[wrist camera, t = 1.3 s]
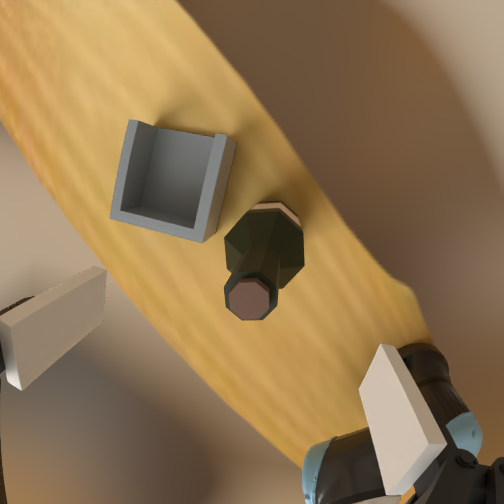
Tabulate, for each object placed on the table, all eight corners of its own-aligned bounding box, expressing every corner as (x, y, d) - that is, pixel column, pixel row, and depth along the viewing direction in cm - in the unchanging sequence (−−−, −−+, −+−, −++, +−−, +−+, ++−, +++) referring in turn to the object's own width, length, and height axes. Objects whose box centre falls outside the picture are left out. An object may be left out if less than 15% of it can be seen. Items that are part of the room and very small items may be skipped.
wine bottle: (254, 191, 47) (201, 209, 18) (307, 210, 46) (343, 259, 17) (236, 244, 49) (167, 335, 20) (288, 262, 48) (290, 378, 19)
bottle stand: (215, 233, 49) (202, 243, 41) (134, 212, 49) (109, 218, 42) (237, 142, 45) (227, 135, 38) (151, 127, 46) (129, 119, 38)
